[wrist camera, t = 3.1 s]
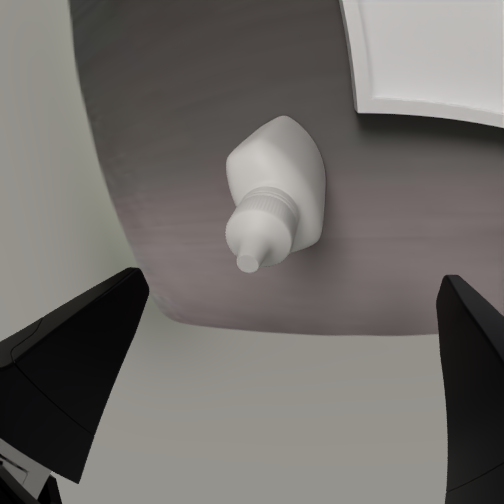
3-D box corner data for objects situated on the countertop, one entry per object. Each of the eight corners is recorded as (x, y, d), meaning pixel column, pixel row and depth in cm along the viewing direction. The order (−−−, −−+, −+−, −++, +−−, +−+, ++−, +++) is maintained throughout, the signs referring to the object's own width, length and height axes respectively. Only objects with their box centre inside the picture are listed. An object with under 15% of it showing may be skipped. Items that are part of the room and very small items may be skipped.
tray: (528, 129, 12) (545, 138, 10) (354, 108, 16) (358, 112, 14) (503, -39, 4) (517, -45, 2) (318, -75, 8) (315, -90, 6)
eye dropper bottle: (263, 191, 21) (198, 316, 11) (259, 114, 17) (167, 177, 8) (325, 195, 20) (312, 332, 10) (327, 115, 16) (326, 181, 7)
